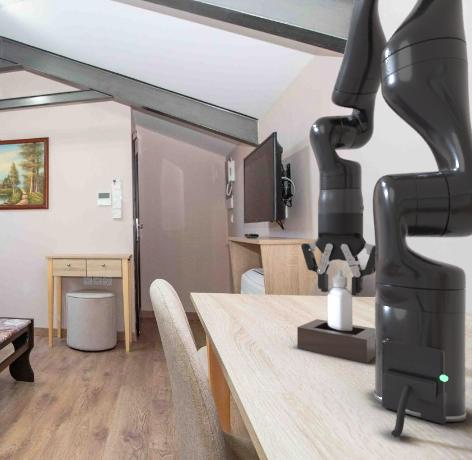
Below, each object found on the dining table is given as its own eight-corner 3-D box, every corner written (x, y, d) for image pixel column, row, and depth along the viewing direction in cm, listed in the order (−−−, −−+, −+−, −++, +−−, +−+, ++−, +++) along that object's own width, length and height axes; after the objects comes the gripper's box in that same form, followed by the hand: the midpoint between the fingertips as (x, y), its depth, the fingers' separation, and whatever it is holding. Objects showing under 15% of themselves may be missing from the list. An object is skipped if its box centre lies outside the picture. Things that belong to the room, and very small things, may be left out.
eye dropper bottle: (325, 329, 79) (325, 271, 79) (328, 323, 83) (328, 268, 83) (351, 332, 76) (351, 272, 76) (354, 327, 80) (353, 270, 80)
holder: (366, 363, 71) (366, 339, 71) (297, 348, 80) (297, 327, 80) (382, 351, 78) (382, 329, 78) (316, 338, 87) (316, 319, 87)
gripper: (294, 212, 82) (294, 290, 83) (379, 209, 71) (379, 300, 71) (307, 213, 87) (307, 287, 87) (389, 210, 76) (389, 296, 76)
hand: (339, 293), depth 79 cm, fingers closed on eye dropper bottle, 4 cm apart
